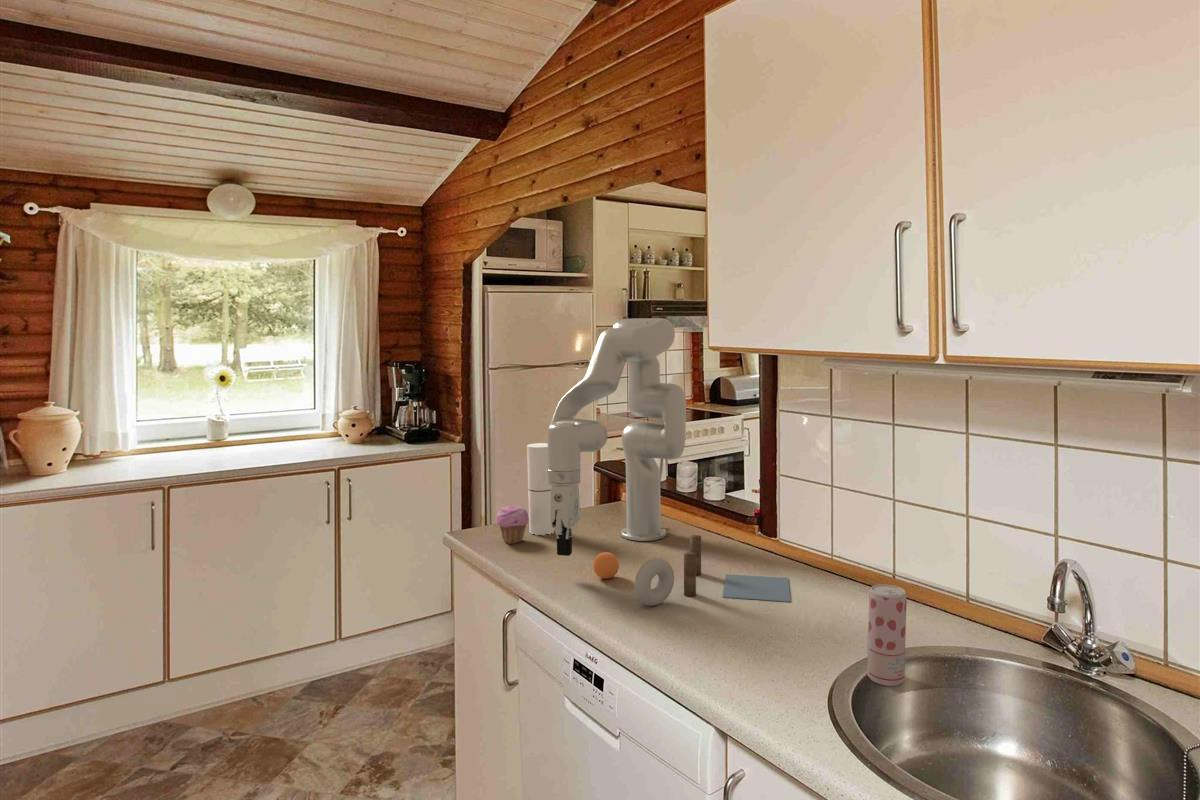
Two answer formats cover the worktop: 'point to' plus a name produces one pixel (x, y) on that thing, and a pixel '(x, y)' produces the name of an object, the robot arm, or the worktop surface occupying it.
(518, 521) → the cupcake
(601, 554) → the ball
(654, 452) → the robot arm
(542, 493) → the cylindrical container
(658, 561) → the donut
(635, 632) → the worktop surface
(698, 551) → the post
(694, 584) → the post
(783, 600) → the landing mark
